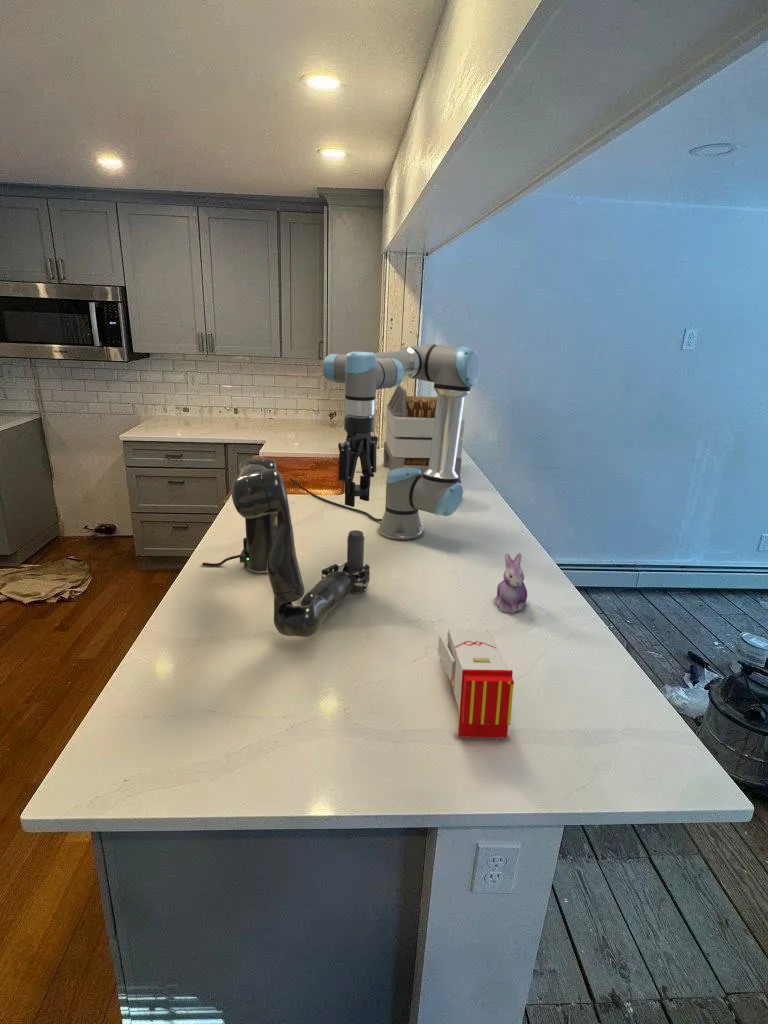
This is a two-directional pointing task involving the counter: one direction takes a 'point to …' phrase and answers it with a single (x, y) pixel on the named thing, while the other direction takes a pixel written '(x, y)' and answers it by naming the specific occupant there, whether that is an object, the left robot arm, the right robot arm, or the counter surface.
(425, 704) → the counter surface
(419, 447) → the white wooden crate
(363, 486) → the lid
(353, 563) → the dark grey cylinder
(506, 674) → the toy
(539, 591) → the counter surface
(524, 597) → the figurine
